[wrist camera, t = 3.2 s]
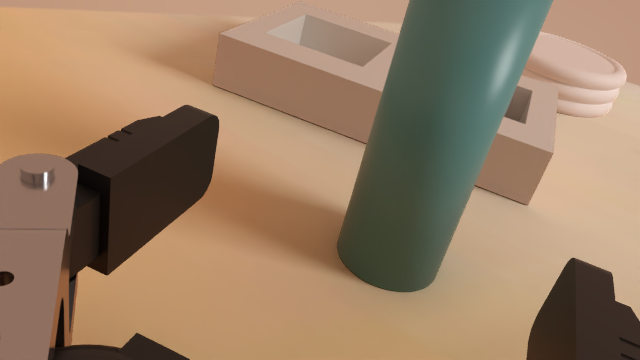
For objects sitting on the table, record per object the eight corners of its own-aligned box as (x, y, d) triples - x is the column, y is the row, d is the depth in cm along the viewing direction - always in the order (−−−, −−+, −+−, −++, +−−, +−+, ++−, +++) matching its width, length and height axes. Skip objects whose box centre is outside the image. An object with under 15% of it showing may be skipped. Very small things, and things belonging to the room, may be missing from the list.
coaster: (564, 75, 51) (582, 37, 49) (634, 128, 43) (658, 85, 41) (463, 58, 48) (478, 18, 47) (517, 112, 40) (537, 65, 39)
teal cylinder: (445, 249, 24) (560, -21, 18) (424, 307, 20) (556, -2, 15) (356, 212, 25) (439, -57, 19) (321, 262, 21) (410, -46, 16)
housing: (538, 129, 38) (560, 84, 36) (527, 205, 28) (555, 149, 27) (292, 42, 42) (301, -2, 40) (212, 84, 32) (219, 29, 31)
